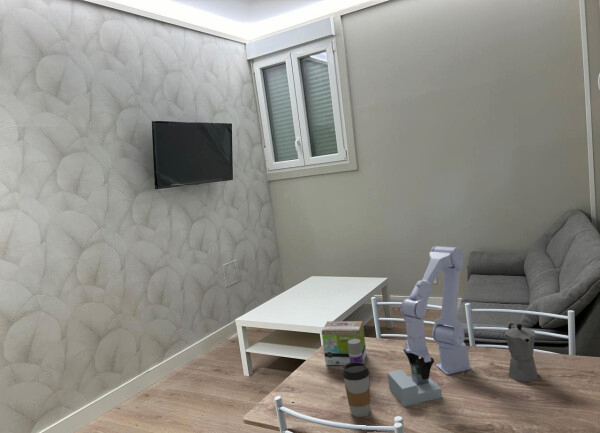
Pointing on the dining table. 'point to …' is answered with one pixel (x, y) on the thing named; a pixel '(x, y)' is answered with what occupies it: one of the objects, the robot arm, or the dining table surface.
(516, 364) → the coffeepot
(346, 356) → the tea box
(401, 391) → the stepped stand
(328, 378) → the dining table surface
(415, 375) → the column
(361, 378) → the coffee cup
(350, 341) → the container
